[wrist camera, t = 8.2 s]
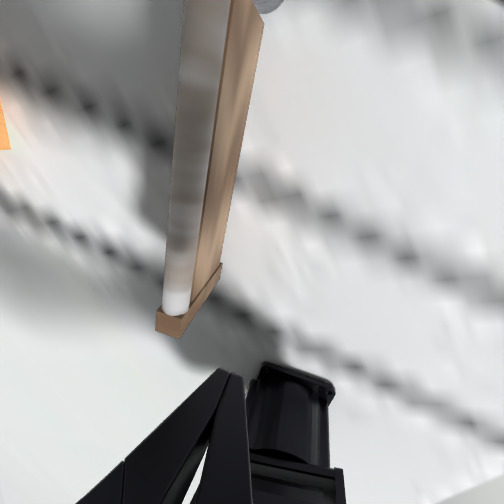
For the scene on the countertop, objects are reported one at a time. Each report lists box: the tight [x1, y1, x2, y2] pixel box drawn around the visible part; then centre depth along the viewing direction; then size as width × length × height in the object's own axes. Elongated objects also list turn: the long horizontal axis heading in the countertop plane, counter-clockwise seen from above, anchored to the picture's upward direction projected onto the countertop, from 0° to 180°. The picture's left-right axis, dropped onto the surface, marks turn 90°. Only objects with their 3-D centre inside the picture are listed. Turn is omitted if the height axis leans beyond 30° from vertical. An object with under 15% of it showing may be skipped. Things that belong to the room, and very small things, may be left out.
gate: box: [155, 0, 264, 339], centre depth 13 cm, size 15×1×6 cm, turn 167°
